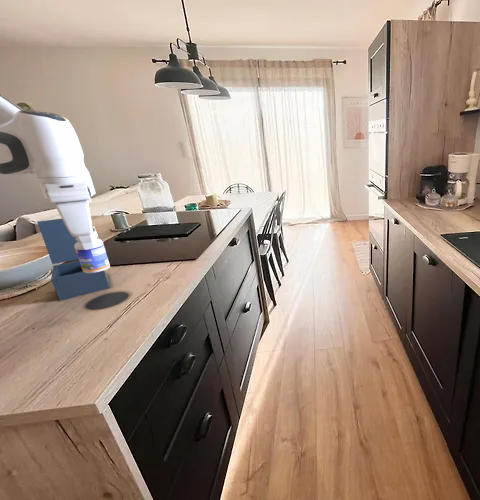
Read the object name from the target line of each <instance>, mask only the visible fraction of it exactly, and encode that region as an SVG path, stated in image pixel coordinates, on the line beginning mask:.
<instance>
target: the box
mask: <svg viewBox="0 0 480 500" xmlns="http://www.w3.org/2000/svg"><path fill="white" fill-rule="evenodd" d="M50 280H51V283H52V285H53V288H54V290H55V292H56V295H57V297H58V300H59V301H64V300H68V299H71V298H76V297H79V296H83V295H87V294H88V295H89V294H92V293H95V292H99V291H104V290H107V289H110V288H111V287H110V282H109V278H108V273H107V271H106V270H103V271H100V272H96V273H85V272H83V270H82V267H81V264H80V261H79V260H74V261H69V262H64V263H61V264H60V263H59V264H54V265H53V266H52V270H51V278H50Z"/></svg>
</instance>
